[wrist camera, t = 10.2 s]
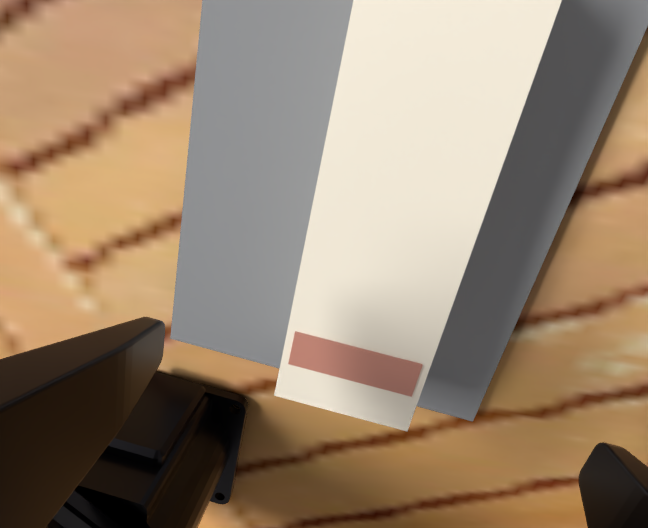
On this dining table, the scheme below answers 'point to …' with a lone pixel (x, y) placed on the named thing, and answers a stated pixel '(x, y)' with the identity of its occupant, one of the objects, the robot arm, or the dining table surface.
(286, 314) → the mat
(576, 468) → the dining table surface
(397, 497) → the dining table surface
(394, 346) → the white block
